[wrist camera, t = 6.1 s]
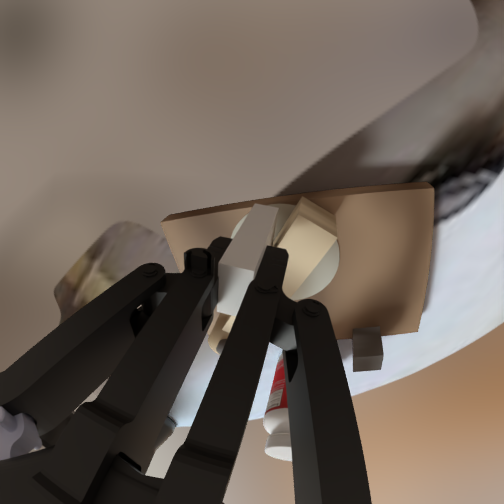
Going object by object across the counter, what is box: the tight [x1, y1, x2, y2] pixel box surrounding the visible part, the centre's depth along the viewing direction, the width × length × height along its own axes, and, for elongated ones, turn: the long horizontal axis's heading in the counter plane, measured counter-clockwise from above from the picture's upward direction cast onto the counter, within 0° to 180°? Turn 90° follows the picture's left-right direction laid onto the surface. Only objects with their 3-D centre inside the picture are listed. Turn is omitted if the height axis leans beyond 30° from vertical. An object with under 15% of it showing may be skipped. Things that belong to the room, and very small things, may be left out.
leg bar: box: [208, 196, 338, 355], centre depth 19 cm, size 14×4×4 cm, turn 154°
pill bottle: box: [263, 353, 292, 461], centre depth 22 cm, size 6×6×11 cm
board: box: [161, 182, 434, 372], centre depth 20 cm, size 20×14×5 cm
